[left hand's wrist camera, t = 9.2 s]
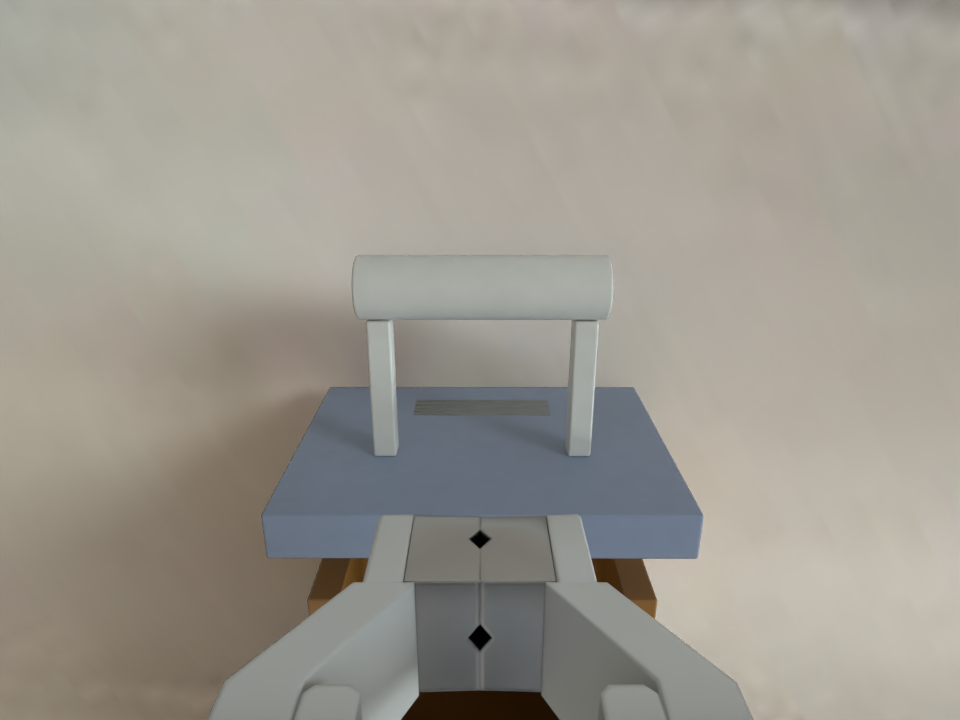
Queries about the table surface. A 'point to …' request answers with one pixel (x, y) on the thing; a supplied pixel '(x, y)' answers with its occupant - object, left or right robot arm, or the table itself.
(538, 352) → the table surface
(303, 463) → the drawer
